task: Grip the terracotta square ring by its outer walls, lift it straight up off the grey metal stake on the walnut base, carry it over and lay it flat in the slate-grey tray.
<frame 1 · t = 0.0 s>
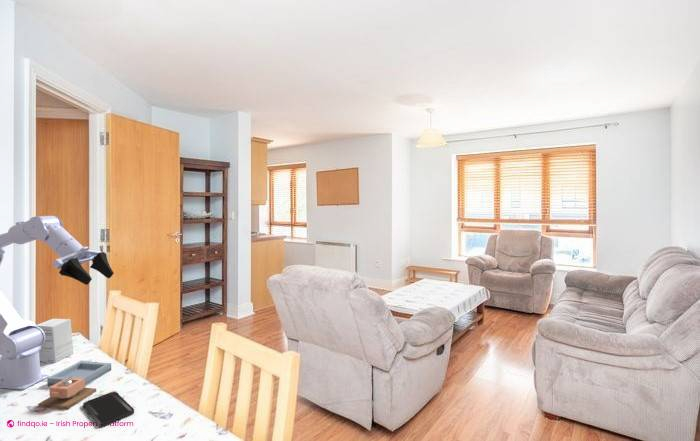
hand: (100, 278, 105), 32 cm above the table, tool tilted 50°, fingers open, 7 cm apart
stake: (67, 387, 102), on the stake base, point 3 cm above the table
ring: (67, 391, 102), point 2 cm above the table, touching stake
supplement box: (55, 358, 128), on the table
tray: (80, 377, 114), on the table
phone: (108, 411, 97), on the table
stake base: (68, 398, 102), on the table
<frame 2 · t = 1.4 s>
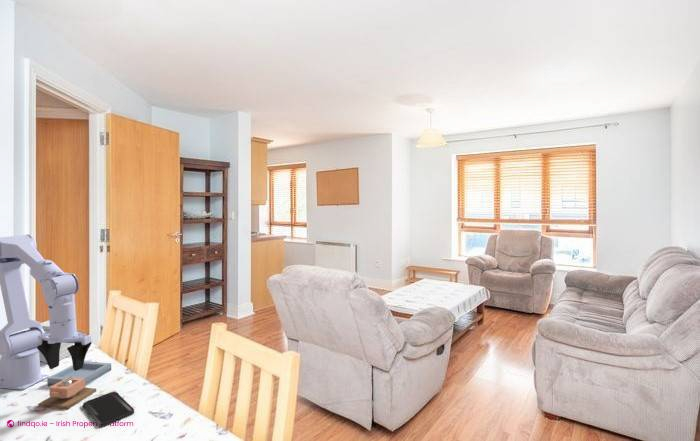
hand: (66, 368, 102), 9 cm above the table, tool pointing down, fingers open, 7 cm apart
nothing on the table moved.
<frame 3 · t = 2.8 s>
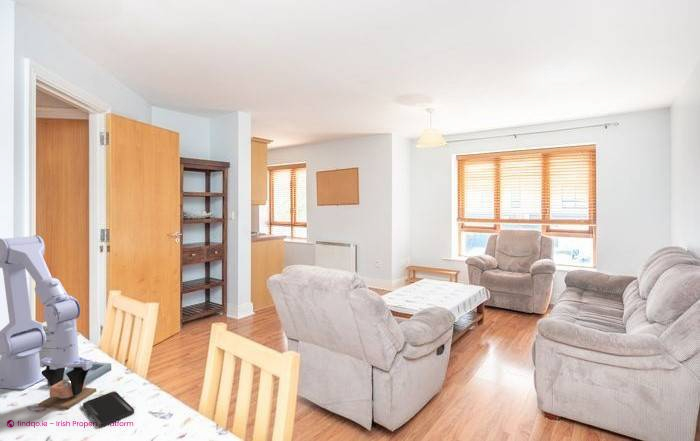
hand: (68, 392, 102), 2 cm above the table, tool pointing down, fingers closed on ring, 5 cm apart
ring: (67, 391, 102), point 2 cm above the table, touching gripper, stake
everything else where it was.
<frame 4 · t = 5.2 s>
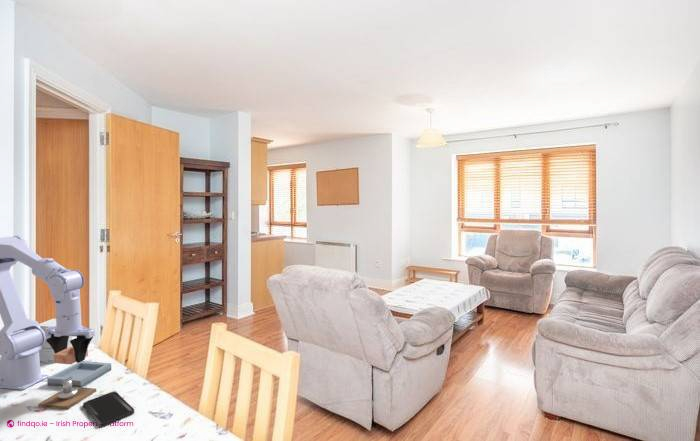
hand: (71, 360, 107), 9 cm above the table, tool pointing down, fingers closed on ring, 5 cm apart
ring: (71, 359, 106), point 9 cm above the table, touching gripper
everything else where it was.
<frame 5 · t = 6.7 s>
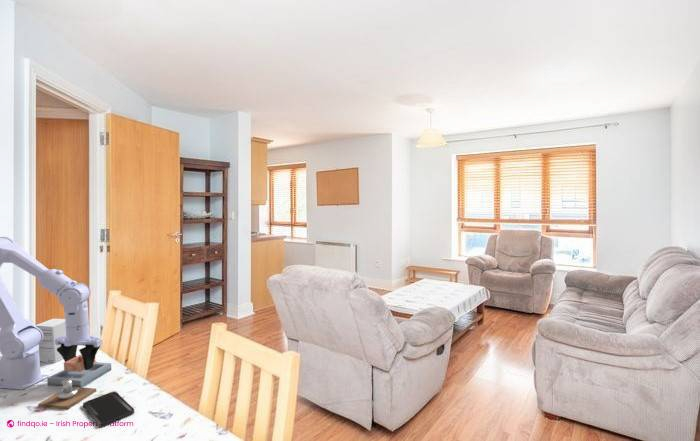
hand: (80, 368, 114), 3 cm above the table, tool pointing down, fingers closed on ring, 5 cm apart
ring: (80, 367, 114), point 3 cm above the table, touching gripper
everything else where it was.
when the fingers open (2 cm above the table, at t = 7.8 s): ring drops 2 cm, resting on tray.
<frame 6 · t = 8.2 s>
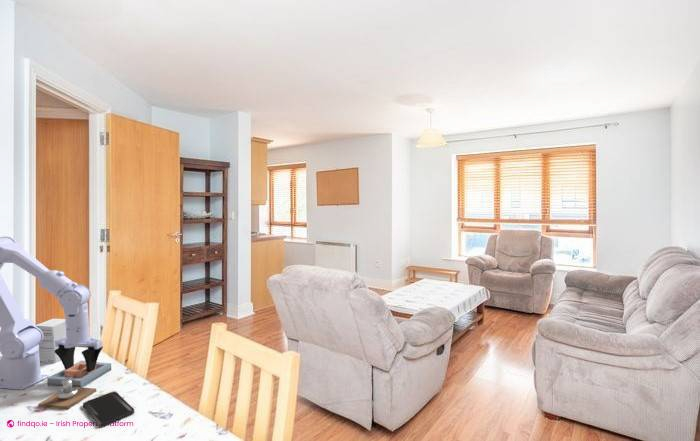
hand: (80, 369, 114), 2 cm above the table, tool pointing down, fingers open, 7 cm apart
ring: (80, 374, 114), point 1 cm above the table, touching tray
everything else where it was.
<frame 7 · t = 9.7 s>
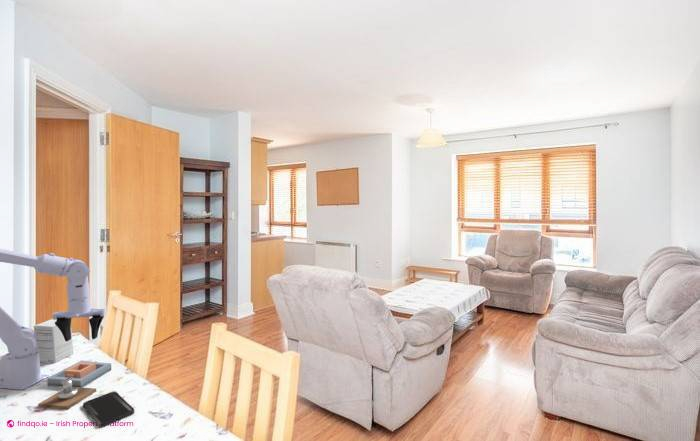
hand: (81, 339, 120), 9 cm above the table, tool pointing down, fingers open, 7 cm apart
nothing on the table moved.
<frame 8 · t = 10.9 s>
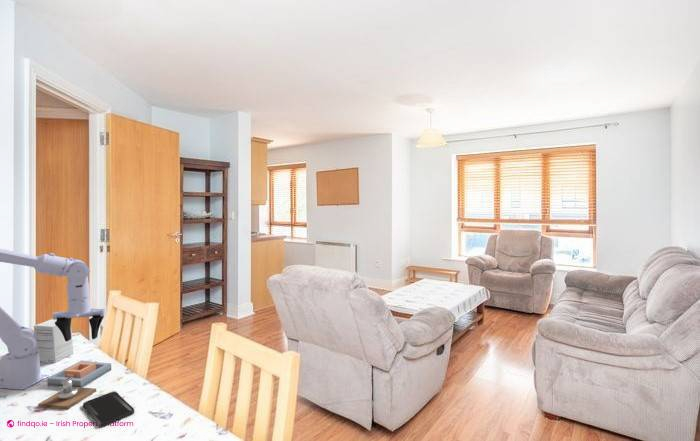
hand: (81, 339, 120), 9 cm above the table, tool pointing down, fingers open, 7 cm apart
nothing on the table moved.
at the end: ring 0.0 cm off-centre on the tray, point 0.8 cm above the tray's base; ring tilted 0°; the gripper is holding nothing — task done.
